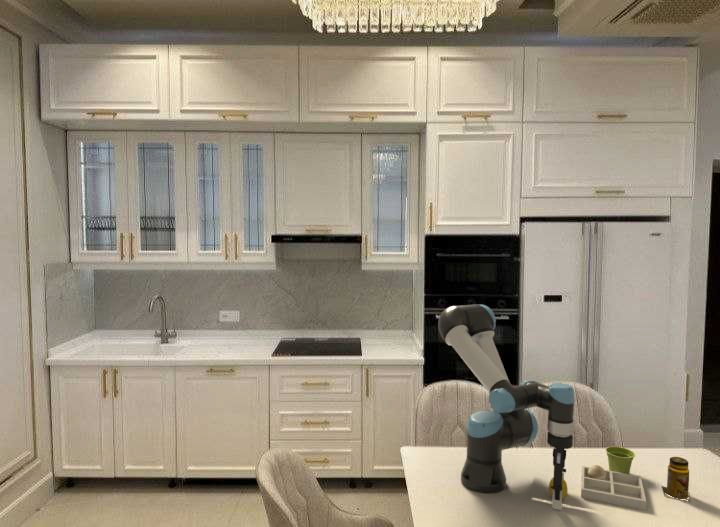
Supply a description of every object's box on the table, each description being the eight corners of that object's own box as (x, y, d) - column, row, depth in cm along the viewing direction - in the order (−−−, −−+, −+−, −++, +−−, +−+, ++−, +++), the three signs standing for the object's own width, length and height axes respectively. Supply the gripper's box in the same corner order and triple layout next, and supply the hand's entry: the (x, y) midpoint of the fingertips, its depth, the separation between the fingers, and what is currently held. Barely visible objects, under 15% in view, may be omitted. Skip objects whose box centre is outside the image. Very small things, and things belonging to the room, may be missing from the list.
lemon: (568, 505, 163) (569, 481, 163) (549, 503, 164) (550, 479, 164) (565, 497, 168) (566, 473, 168) (547, 495, 170) (548, 471, 169)
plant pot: (640, 480, 180) (641, 456, 180) (615, 482, 179) (616, 458, 178) (622, 468, 190) (623, 445, 189) (598, 470, 188) (599, 447, 188)
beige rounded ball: (587, 483, 176) (588, 467, 176) (587, 476, 181) (588, 461, 181) (606, 487, 174) (606, 470, 173) (605, 480, 179) (606, 464, 179)
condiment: (689, 502, 166) (691, 466, 165) (659, 495, 170) (661, 460, 170) (688, 492, 172) (690, 457, 172) (659, 486, 177) (660, 452, 176)
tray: (580, 499, 167) (581, 488, 167) (581, 475, 184) (581, 465, 184) (645, 512, 160) (646, 501, 159) (640, 486, 176) (640, 476, 176)
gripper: (571, 448, 153) (569, 520, 154) (573, 422, 174) (571, 486, 175) (544, 444, 156) (542, 515, 157) (550, 419, 177) (548, 481, 178)
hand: (557, 500), depth 166 cm, fingers open, 11 cm apart
